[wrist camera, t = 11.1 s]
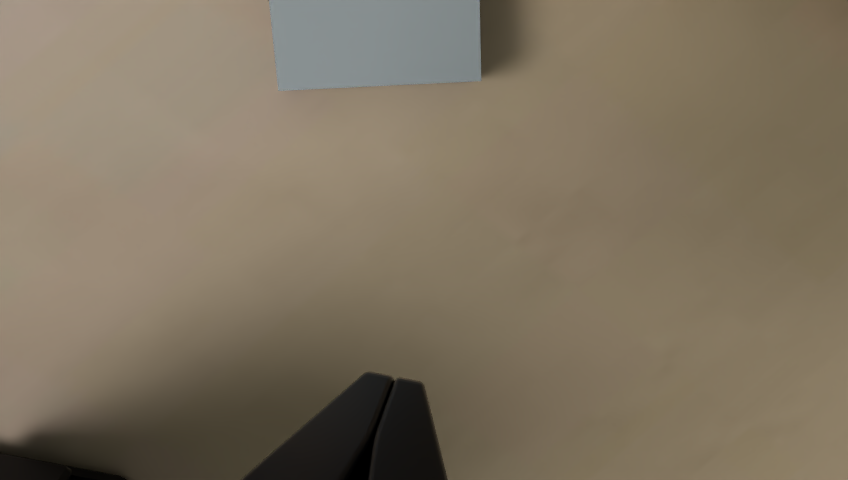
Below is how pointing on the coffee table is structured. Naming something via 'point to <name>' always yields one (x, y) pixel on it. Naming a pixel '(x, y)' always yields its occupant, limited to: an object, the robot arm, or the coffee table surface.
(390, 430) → the robot arm
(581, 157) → the coffee table surface
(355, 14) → the plate
